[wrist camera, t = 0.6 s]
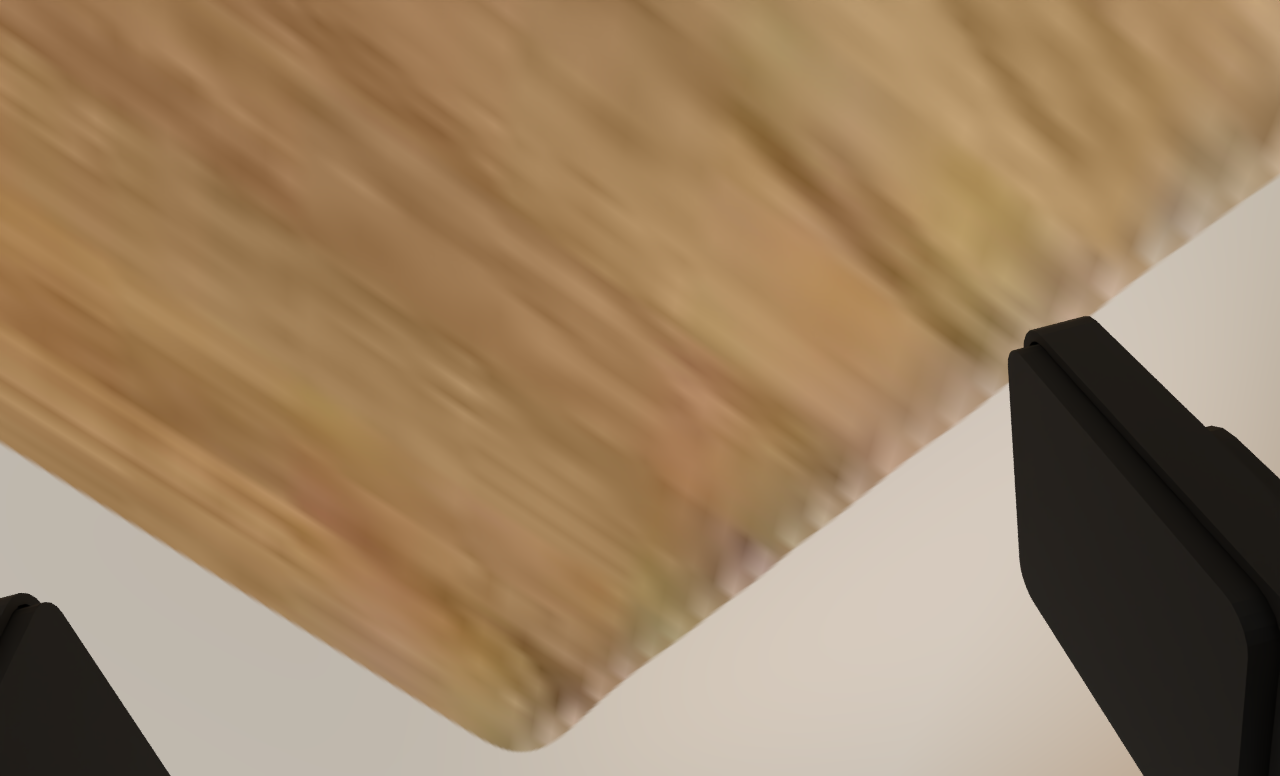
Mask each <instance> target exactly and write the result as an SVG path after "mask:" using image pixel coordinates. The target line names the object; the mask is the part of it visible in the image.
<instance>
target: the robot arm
mask: <svg viewBox="0 0 1280 776" xmlns="http://www.w3.org/2000/svg"><path fill="white" fill-rule="evenodd" d="M1008 375H1009V391H1010V407H1011V425H1012V442H1013V458H1014V475H1015V492H1016V509H1017V525H1018V542H1019V558H1020V567H1021V572H1022V576H1023V579H1024V582H1025V585H1026V588H1027V590H1028V592H1029V595H1030V597H1031V598H1032V600H1033V602H1034V603H1035V605H1036V607H1037V608H1038V610H1039V611H1040V613H1041V615H1042V616H1043V618H1044V619H1045V621H1046V622H1047V624H1048V625H1049V627H1050V629H1051V630H1052V632H1053V633H1054V635H1055V637H1056V638H1057V640H1058V641H1059V643H1060V645H1061V646H1062V648H1063V649H1064V651H1065V652H1066V654H1067V656H1068V657H1069V659H1070V660H1071V662H1072V663H1073V665H1074V667H1075V668H1076V670H1077V671H1078V673H1079V674H1080V676H1081V677H1082V679H1083V681H1084V682H1085V684H1086V686H1087V687H1088V689H1089V690H1090V692H1091V693H1092V695H1093V697H1094V698H1095V700H1096V701H1097V703H1098V705H1099V706H1100V708H1101V709H1102V711H1103V712H1104V714H1105V715H1106V717H1107V719H1108V720H1109V722H1110V723H1111V725H1112V727H1113V728H1114V730H1115V731H1116V733H1117V734H1118V736H1119V738H1120V739H1121V741H1122V742H1123V744H1124V746H1125V747H1126V749H1127V750H1128V752H1129V754H1130V755H1131V757H1132V758H1133V760H1134V761H1135V763H1136V764H1137V766H1138V768H1139V769H1140V771H1141V772H1142V774H1143V776H1280V479H1279V478H1278V477H1277V476H1276V475H1275V474H1274V473H1273V472H1272V471H1271V470H1270V469H1269V468H1268V467H1267V466H1266V465H1264V464H1263V463H1262V462H1261V461H1260V460H1259V459H1258V458H1257V457H1256V456H1255V455H1254V454H1253V453H1252V452H1251V451H1250V450H1249V449H1248V448H1247V447H1245V446H1244V445H1243V444H1242V443H1241V442H1240V441H1239V440H1238V439H1237V438H1236V437H1235V436H1233V435H1232V434H1230V433H1229V432H1228V431H1226V430H1225V429H1223V428H1220V427H1215V426H1208V427H1205V426H1204V425H1203V424H1202V423H1201V422H1200V421H1199V420H1198V419H1197V418H1196V417H1195V416H1194V415H1193V414H1192V413H1191V412H1189V411H1188V410H1187V409H1186V408H1185V407H1184V406H1183V405H1182V404H1181V403H1180V402H1179V401H1178V400H1177V399H1176V398H1175V397H1174V396H1173V395H1172V394H1171V393H1170V392H1169V391H1168V390H1167V389H1166V388H1165V387H1164V386H1163V385H1162V384H1161V383H1160V382H1159V381H1157V379H1156V378H1154V376H1153V375H1151V374H1150V373H1149V372H1148V371H1147V370H1146V369H1145V368H1144V367H1143V366H1142V365H1141V364H1140V363H1139V362H1138V361H1137V360H1136V359H1135V358H1134V357H1133V356H1132V355H1131V354H1130V353H1129V352H1128V351H1127V350H1126V349H1125V348H1124V347H1123V346H1122V345H1121V344H1120V343H1119V342H1118V341H1117V340H1116V339H1115V338H1113V337H1112V336H1111V335H1110V334H1109V333H1108V332H1107V331H1106V330H1105V329H1104V328H1103V327H1102V326H1101V325H1100V324H1099V323H1098V322H1097V321H1096V320H1094V319H1093V318H1091V317H1090V316H1083V317H1080V318H1076V319H1072V320H1068V321H1064V322H1060V323H1057V324H1053V325H1049V326H1045V327H1041V328H1037V329H1033V330H1030V331H1029V332H1028V333H1027V334H1026V336H1025V340H1024V348H1021V349H1017V350H1013V351H1011V352H1010V354H1009V358H1008ZM0 776H170V774H169V773H168V771H167V770H166V769H165V767H164V765H163V764H162V762H161V761H160V759H159V758H158V756H157V755H156V753H155V752H154V750H153V749H152V747H151V746H150V744H149V743H148V741H147V740H146V738H145V737H144V735H143V734H142V732H141V731H140V729H139V728H138V726H137V725H136V723H135V722H134V720H133V719H132V717H131V716H130V714H129V713H128V711H127V710H126V708H125V707H124V705H123V704H122V702H121V701H120V699H119V698H118V696H117V695H116V693H115V692H114V690H113V689H112V687H111V686H110V684H109V683H108V681H107V679H106V678H105V677H104V675H103V674H102V672H101V671H100V669H99V667H98V666H97V665H96V663H95V661H94V660H93V658H92V657H91V655H90V654H89V653H88V651H87V649H86V648H85V646H84V645H83V643H82V642H81V640H80V639H79V637H78V636H77V634H76V633H75V631H74V630H73V628H72V627H71V625H70V624H69V622H68V621H67V619H66V618H65V616H64V615H63V613H62V612H61V611H60V610H59V608H58V607H57V606H55V605H54V604H52V603H47V602H44V603H40V602H39V601H38V600H37V598H35V597H33V596H32V595H30V594H26V593H18V594H15V595H11V596H7V597H3V598H0Z"/></svg>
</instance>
